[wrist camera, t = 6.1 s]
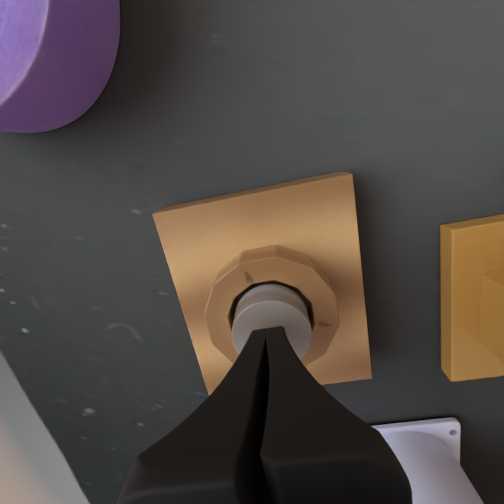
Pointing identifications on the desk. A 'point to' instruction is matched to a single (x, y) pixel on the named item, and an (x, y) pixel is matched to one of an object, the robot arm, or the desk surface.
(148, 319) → the desk surface
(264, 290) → the button
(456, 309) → the bracket
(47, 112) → the tape roll
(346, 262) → the button housing
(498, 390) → the desk surface
